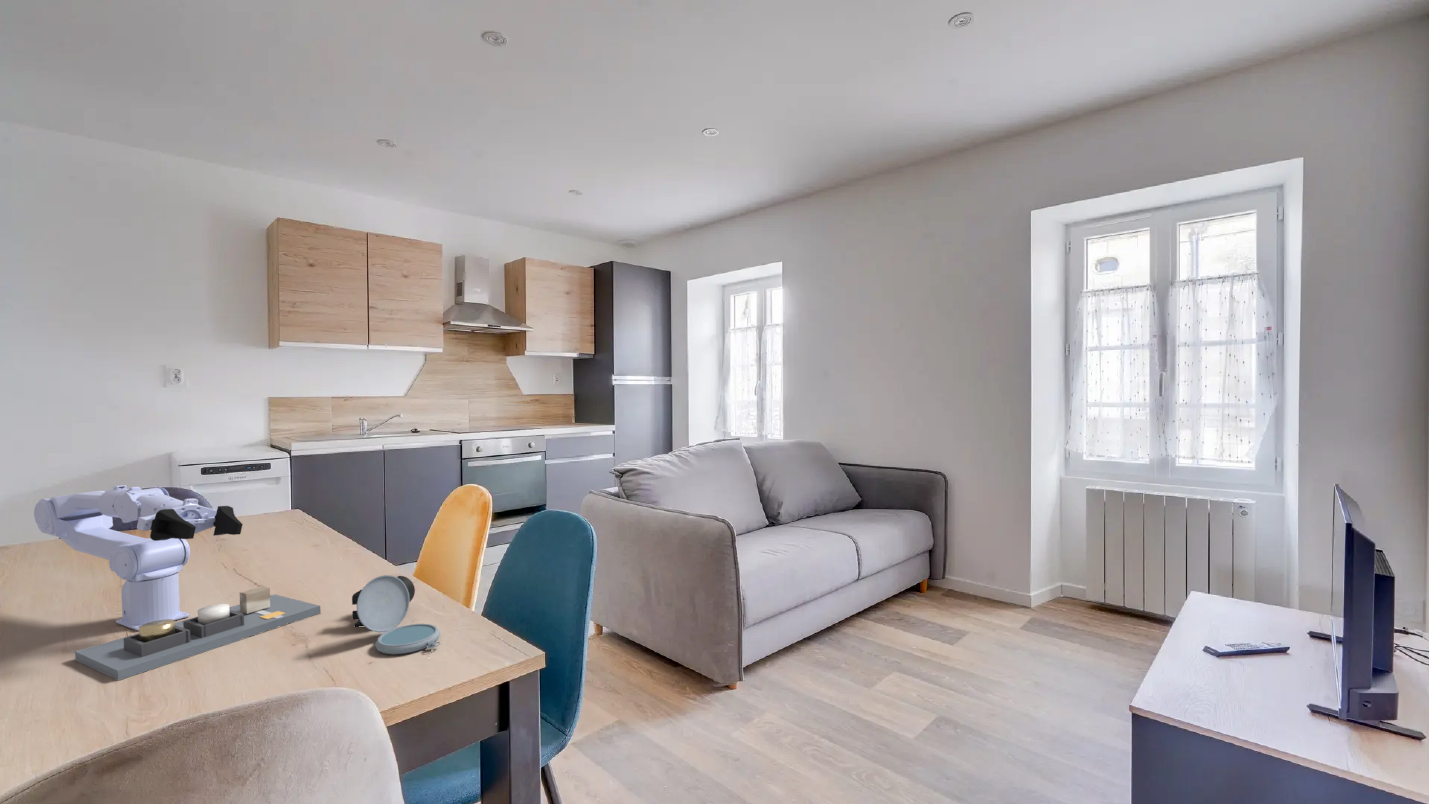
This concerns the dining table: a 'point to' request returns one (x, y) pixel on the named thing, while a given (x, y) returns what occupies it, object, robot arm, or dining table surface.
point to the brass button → (156, 629)
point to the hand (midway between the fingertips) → (216, 531)
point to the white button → (213, 613)
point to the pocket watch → (393, 617)
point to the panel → (190, 638)
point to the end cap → (355, 596)
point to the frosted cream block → (254, 599)
